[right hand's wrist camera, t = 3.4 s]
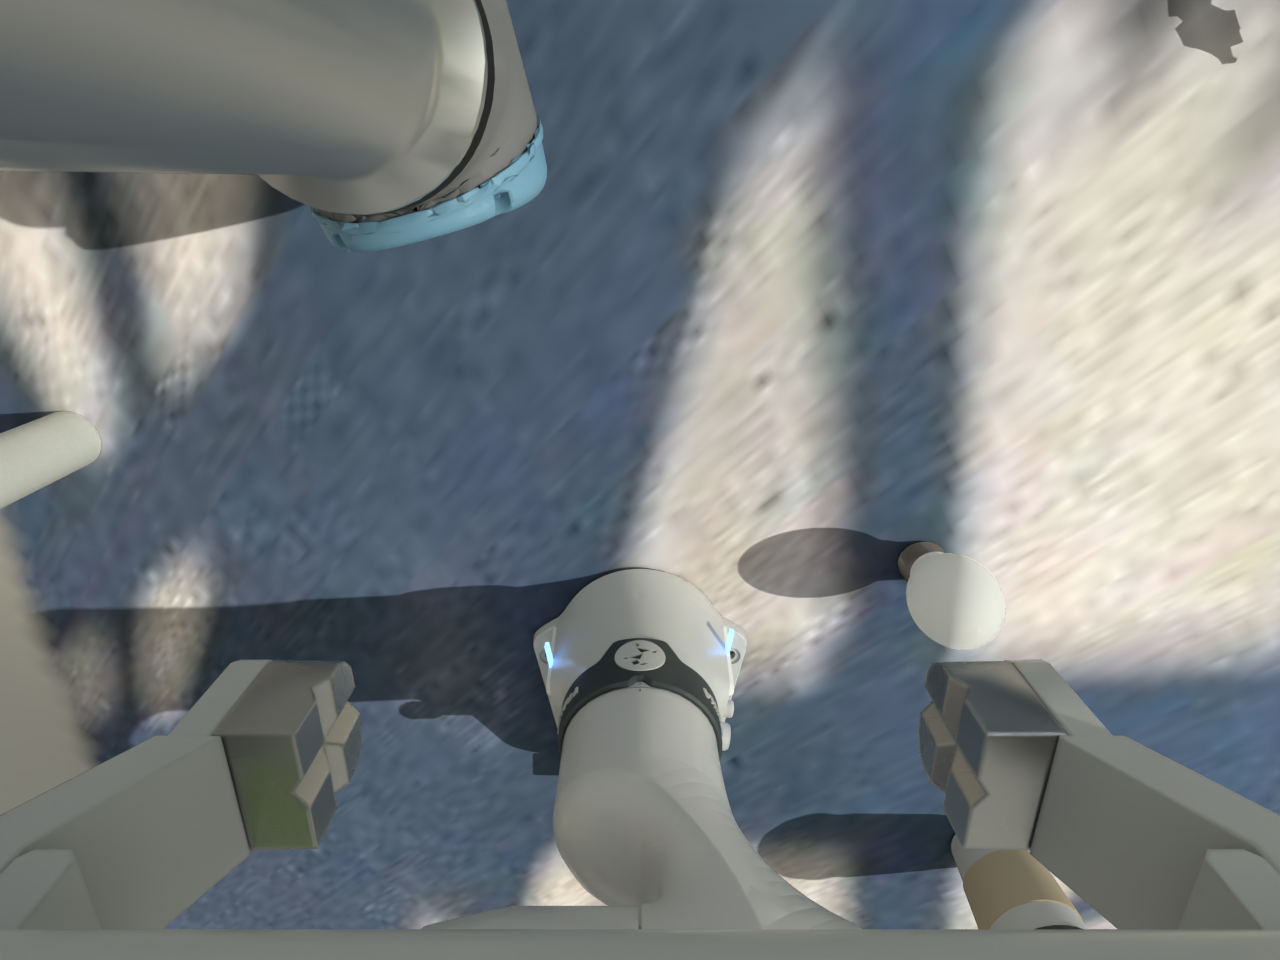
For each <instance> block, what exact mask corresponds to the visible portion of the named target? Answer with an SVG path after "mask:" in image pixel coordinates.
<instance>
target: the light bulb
mask: <svg viewBox="0 0 1280 960" xmlns="http://www.w3.org/2000/svg"><path fill="white" fill-rule="evenodd" d="M898 567H899V570H900V572H901V574H902V575H903V577H904V578H905V580H906V581H907V582H908V583H907V590H906V598H907V605H908V608H909V611H910V613H911V616H912V618H913V619H914V621H915V623H916V624H917V625H918V627H919V628H920V629H921V630H922V631H923V632H924V633H925V634H926V635H927V636H928V637H930V638H931V639H932V640H934V641H936V642H937V643H939V644H941V645H944V646H947V647H949V648H954V649H962V650H967V649H975V648H978V647H981V646H983V645H985V644H987V643H989V642H990V641H991V640H993V639H994V638H995V637H996V636H997V634H998V633H999V631H1000V630H1001V628H1002V625H1003V623H1004V620H1005V615H1006V607H1005V598H1004V595H1003V592H1002V589H1001V587H1000V585H999V583H998V582H997V580H996V579H995V577H994V576H993V575H992V574H991V573H990V572H989V570H988V569H986V568H985V567H984V566H983V565H982V564H980V563H978V562H977V561H975V560H973V559H971V558H969V557H966V556H964V555H959V554H953V553H945V551H944V550H943V549H942V548H941V547H940V546H938V545H936V544H934V543H931V542H919V543H915V544H913V545H910V546H909V547H907V548H906V549H905V550H904V551H903V552H902V553H901V555H900V557H899V559H898Z"/></svg>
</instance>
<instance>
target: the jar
mask: <svg viewBox="0 0 1280 960" xmlns="http://www.w3.org/2000/svg"><path fill="white" fill-rule="evenodd" d="M100 451H101V440H100V437H99V434H98V432H97V430H96V429H95V427H94V426H93V425H92V424H91V423H90V422H89V421H88V420H87V419H85V418H84V417H82V416H80V415H78V414H76V413H73V412H68V411H59V412H55V413H52V414H49V415H47V416H44V417H42V418H39V419H36V420H34V421H31V422H29V423H26V424H23V425H21V426H18V427H16V428H13V429H11V430H8V431H5V432H3V433H0V509H1V508H3V507H5V506H7V505H9V504H11V503H13V502H15V501H17V500H19V499H21V498H23V497H25V496H27V495H29V494H31V493H33V492H35V491H37V490H39V489H41V488H43V487H45V486H47V485H49V484H51V483H53V482H55V481H57V480H59V479H60V478H62V477H64V476H66V475H68V474H70V473H72V472H74V471H76V470H78V469H80V468H82V467H84V466H86V465H88V464H90V463H92V462H93V461H95V460H96V459H97V457H98V456H99V454H100Z"/></svg>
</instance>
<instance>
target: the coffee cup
mask: <svg viewBox="0 0 1280 960" xmlns="http://www.w3.org/2000/svg"><path fill="white" fill-rule="evenodd" d="M951 851H952V854H953V857H954V860H955V862H956V865H957V867H958V870H959V873H960V875H961V878H962V881H963V888H964V891H965V894H966V896H967V899H968V902H969V905H970V907H971V910H972V913H973V915H974V918H975V921H976V923H977V926H978V929H979V930H1088V929H1087V928H1086V926H1085V925H1084V923H1083V920H1082V918H1081V916H1080V915H1079V913H1078V912H1077V910H1076V909H1075V907H1074V906H1073V905H1072V903H1071V902H1070V900H1069V899H1068V897H1067V896H1066V894H1065V893H1064V892H1063V890H1062V889H1061V887H1060V886H1059V884H1058V883H1057V882H1056V880H1055V879H1054V877H1053V876H1052V874H1051V873H1050V872H1049V870H1048V869H1047V868H1046V867H1044V866H1043V865H1042V864H1041V863H1040V862H1039V861H1037V860H1036V859H1035V858H1034V857H1033V856H1032V855H1030V854H1029V853H1030V850H994V849H963V848H962V846H961V844H960V842H959V840H958V838H957V836H956V834H955V836H954V837H953V840H952V843H951Z"/></svg>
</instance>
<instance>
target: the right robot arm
mask: <svg viewBox="0 0 1280 960" xmlns="http://www.w3.org/2000/svg"><path fill="white" fill-rule="evenodd" d="M533 647H534V650H535V654H536V657H537V661H538V664H539V667H540V671H541V674H542V678H543V681H544V684H545V688H546V693H547V695H548V698H549V701H550V705H551V708H552V712H553V715H554V718H555V722H556V725H557V735H558V754H559V759H560V769H559V777H558V784H557V791H556V799H555V806H554V814H553V830H554V836H555V840H556V844H557V847H558V850H559V852H560V854H561V856H562V858H563V860H564V861H565V863H566V865H567V866H568V868H569V870H570V871H571V872H572V874H573V875H574V877H575V878H576V879H577V881H578V882H579V883H580V884H581V885H582V887H583V888H584V889H585V890H586V891H587V892H589V893H590V894H591V895H593V896H594V897H595V898H597V899H598V900H600V901H602V902H603V903H605V904H606V905H608V906H510V907H505V908H500V909H495V910H491V911H486V912H481V913H476V914H471V915H467V916H463V917H459V918H455V919H451V920H447V921H443V922H439V923H435V924H431V925H427V926H424V927H423V928H421V929H317V930H231V929H163V928H164V927H165V926H166V925H168V924H169V923H170V922H171V921H172V920H174V919H175V918H176V917H177V916H178V915H179V914H181V913H182V912H183V911H184V910H185V909H186V908H188V907H189V906H190V905H191V904H192V903H194V902H195V901H196V900H197V899H198V898H199V897H201V896H202V895H203V894H204V893H205V892H206V891H208V890H209V889H210V888H211V887H212V886H214V885H215V884H216V883H217V882H218V881H219V880H221V879H222V878H223V877H224V876H225V875H226V874H228V873H229V872H230V871H231V870H232V869H234V868H235V867H236V866H237V865H238V864H239V863H241V862H242V861H243V860H244V859H245V858H246V857H248V856H249V855H250V850H284V849H317V848H318V846H319V844H320V842H321V840H322V838H323V836H324V834H325V832H326V830H327V828H328V826H329V824H330V822H331V820H332V818H333V816H334V814H335V812H336V810H337V804H336V799H335V793H336V792H337V791H339V790H340V789H341V788H343V787H344V786H346V785H347V784H348V783H350V781H351V779H352V776H353V774H354V772H355V770H356V768H357V765H358V760H359V755H360V751H361V746H362V725H361V719H360V713H359V712H358V711H357V710H356V709H355V708H354V707H353V706H352V705H351V704H350V703H349V702H348V699H349V697H350V695H351V693H352V692H353V690H354V688H355V683H354V679H353V674H352V669H351V666H350V665H348V664H347V663H346V662H345V661H312V660H238V661H235V662H232V663H230V664H229V665H228V667H227V668H226V669H225V670H224V671H223V672H222V674H221V675H220V676H219V677H218V678H217V679H216V680H215V682H214V683H213V684H212V685H211V686H210V687H209V689H208V690H207V691H206V692H205V693H204V694H203V695H202V697H201V698H200V699H199V700H198V701H197V702H196V703H195V705H194V706H193V707H192V708H191V709H190V710H189V712H188V713H187V714H186V715H185V716H184V717H183V718H182V720H181V721H180V722H179V723H178V724H177V725H176V726H175V728H174V729H173V730H172V731H171V732H170V733H169V735H168V736H154V737H152V738H150V739H149V740H147V741H145V742H143V743H141V744H139V745H137V746H135V747H133V748H131V749H129V750H127V751H125V752H123V753H121V754H119V755H117V756H115V757H113V758H111V759H109V760H107V761H105V762H104V763H102V764H100V765H98V766H96V767H94V768H92V769H90V770H88V771H86V772H84V773H82V774H80V775H78V776H76V777H74V778H72V779H70V780H68V781H66V782H64V783H62V784H61V785H59V786H57V787H55V788H53V789H51V790H49V791H47V792H45V793H43V794H41V795H39V796H37V797H35V798H33V799H31V800H29V801H27V802H25V803H23V804H21V805H19V806H17V807H15V808H14V809H12V810H10V811H8V812H6V813H4V814H2V815H0V960H1280V815H1278V814H1276V813H1274V812H1272V811H1270V810H1268V809H1266V808H1264V807H1262V806H1260V805H1258V804H1256V803H1254V802H1252V801H1250V800H1249V799H1247V798H1245V797H1243V796H1241V795H1239V794H1237V793H1235V792H1233V791H1231V790H1229V789H1227V788H1225V787H1223V786H1221V785H1219V784H1217V783H1215V782H1213V781H1211V780H1210V779H1208V778H1206V777H1204V776H1202V775H1200V774H1198V773H1196V772H1194V771H1192V770H1190V769H1188V768H1186V767H1184V766H1182V765H1180V764H1178V763H1176V762H1174V761H1172V760H1170V759H1169V758H1167V757H1165V756H1163V755H1161V754H1159V753H1157V752H1155V751H1153V750H1151V749H1149V748H1147V747H1145V746H1143V745H1141V744H1139V743H1137V742H1135V741H1133V740H1131V739H1130V738H1128V737H1126V736H1112V735H1111V733H1110V732H1109V731H1108V730H1107V729H1106V728H1105V726H1104V725H1103V724H1102V723H1101V722H1100V721H1099V720H1098V718H1097V717H1096V716H1095V715H1094V714H1093V713H1092V712H1091V710H1090V709H1089V708H1088V707H1087V706H1086V705H1085V703H1084V702H1083V701H1082V700H1081V699H1080V698H1079V697H1078V695H1077V694H1076V693H1075V692H1074V691H1073V690H1072V689H1071V687H1070V686H1069V685H1068V684H1067V683H1066V682H1065V680H1064V679H1063V678H1062V677H1061V676H1060V675H1059V674H1058V672H1057V671H1056V670H1055V669H1054V668H1053V667H1052V666H1051V664H1049V663H1048V662H1046V661H1044V660H1041V659H1029V660H1005V661H977V662H932V664H931V666H930V668H929V670H928V672H927V677H926V683H925V688H926V690H927V692H928V693H929V695H930V697H931V699H932V702H931V703H930V704H929V705H928V706H927V707H926V708H925V709H924V710H923V711H922V712H921V713H920V720H919V727H918V742H919V753H920V757H921V760H922V764H923V768H924V770H925V772H926V774H927V776H928V779H929V781H930V783H932V784H933V785H934V786H936V787H937V788H939V789H940V790H941V791H943V792H944V793H945V799H944V804H943V810H944V812H945V814H946V816H947V818H948V820H949V822H950V824H951V826H952V828H953V830H954V832H955V834H956V836H957V838H958V840H959V842H960V844H961V846H962V848H963V849H994V850H1030V853H1029V854H1030V855H1032V856H1033V857H1034V858H1035V859H1036V860H1037V861H1039V862H1040V863H1041V864H1042V865H1043V866H1044V867H1046V868H1047V869H1048V870H1049V871H1050V872H1051V873H1053V874H1054V875H1055V876H1056V877H1057V878H1059V879H1060V880H1061V881H1062V882H1063V883H1064V884H1066V885H1067V886H1068V887H1069V888H1070V889H1071V890H1073V891H1074V892H1075V893H1076V894H1077V895H1078V896H1080V897H1081V898H1082V899H1083V900H1084V901H1086V902H1087V903H1088V904H1089V905H1090V906H1091V907H1093V908H1094V909H1095V910H1096V911H1097V912H1098V913H1100V914H1101V915H1102V916H1103V917H1104V918H1105V919H1107V920H1108V921H1109V922H1110V923H1111V924H1113V925H1114V926H1115V927H1116V928H1117V929H1099V930H1098V929H1096V930H862V929H861V928H860V927H859V926H857V925H856V924H854V923H852V922H850V921H848V920H846V919H844V918H842V917H840V916H838V915H836V914H834V913H832V912H830V911H829V910H827V909H825V908H824V907H822V906H820V905H819V904H817V903H815V902H814V901H812V900H810V899H809V898H808V897H806V896H805V895H804V894H802V893H801V892H799V891H798V890H797V889H795V888H794V887H793V886H792V885H790V884H789V883H788V882H787V881H786V880H784V879H783V878H782V877H781V876H780V875H779V874H778V873H777V872H776V871H775V870H774V869H773V868H771V867H770V866H769V865H768V864H767V863H766V862H765V860H764V859H763V858H762V857H761V856H760V855H759V854H758V853H757V852H756V850H755V849H754V848H753V847H752V846H751V844H750V843H749V842H748V841H747V839H746V838H745V836H744V835H743V833H742V832H741V830H740V829H739V827H738V825H737V823H736V821H735V820H734V818H733V815H732V812H731V809H730V806H729V802H728V798H727V795H726V791H725V786H724V782H723V777H722V772H721V767H720V759H721V754H722V750H723V751H725V750H727V749H728V747H729V743H730V735H731V730H730V725H729V724H728V723H725V719H726V717H727V718H728V717H730V718H731V717H732V716H733V711H734V703H733V701H731V698H732V695H733V693H734V688H735V685H736V681H737V678H738V674H739V671H740V668H741V664H742V661H743V657H744V654H745V651H746V647H747V639H746V634H745V633H744V631H743V630H742V629H740V628H739V627H738V626H736V625H735V624H733V623H731V622H730V621H728V620H726V619H724V618H722V617H721V616H720V615H719V614H718V613H717V611H716V610H715V609H714V607H713V606H712V605H711V603H710V602H709V600H708V599H707V598H706V597H705V596H704V595H703V594H702V593H701V592H700V591H699V590H698V589H697V588H696V587H694V586H693V585H692V584H690V583H689V582H687V581H685V580H683V579H682V578H680V577H677V576H675V575H672V574H670V573H666V572H662V571H658V570H652V569H629V570H622V571H618V572H614V573H610V574H608V575H605V576H603V577H601V578H598V579H597V580H595V581H593V582H591V583H590V584H588V585H587V586H586V587H584V588H583V589H582V590H581V591H580V592H579V593H578V594H577V595H576V596H575V597H574V598H573V599H572V600H571V602H570V603H569V605H568V606H567V607H566V609H565V610H564V611H563V613H562V614H561V615H560V616H559V617H558V618H556V619H554V620H552V621H550V622H549V623H547V624H545V625H544V626H542V627H541V628H540V629H538V630H537V631H536V633H535V634H534V640H533ZM730 651H733V652H734V653H732V654H730ZM639 925H640V926H641V929H639Z"/></svg>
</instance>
